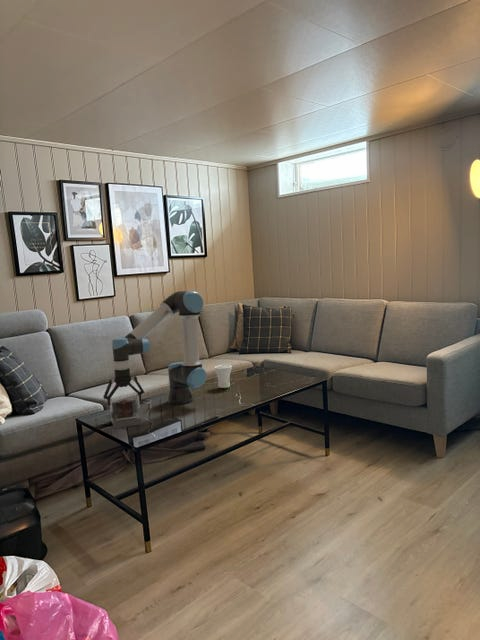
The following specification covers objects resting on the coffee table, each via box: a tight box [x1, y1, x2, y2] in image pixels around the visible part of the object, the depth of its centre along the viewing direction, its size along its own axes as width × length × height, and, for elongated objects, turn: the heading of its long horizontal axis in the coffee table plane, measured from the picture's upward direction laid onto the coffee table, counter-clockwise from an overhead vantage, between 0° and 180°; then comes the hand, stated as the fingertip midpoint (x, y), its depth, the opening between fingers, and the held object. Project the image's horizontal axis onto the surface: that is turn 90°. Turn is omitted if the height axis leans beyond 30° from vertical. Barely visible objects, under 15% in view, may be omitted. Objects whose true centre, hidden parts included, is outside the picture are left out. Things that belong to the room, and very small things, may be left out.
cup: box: [214, 364, 233, 389], centre depth 305 cm, size 11×11×14 cm
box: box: [115, 399, 133, 417], centre depth 242 cm, size 6×6×7 cm
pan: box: [115, 412, 137, 421], centre depth 242 cm, size 10×9×1 cm
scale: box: [109, 398, 142, 429], centre depth 243 cm, size 13×14×10 cm
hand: (125, 409), depth 242 cm, fingers open, 13 cm apart
